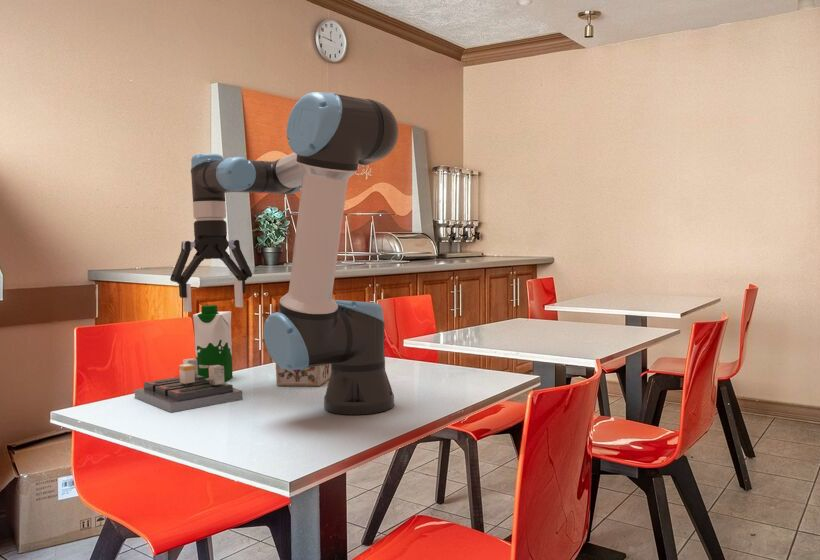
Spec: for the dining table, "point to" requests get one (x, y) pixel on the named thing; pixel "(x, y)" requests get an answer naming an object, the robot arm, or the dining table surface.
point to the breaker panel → (189, 390)
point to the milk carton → (213, 340)
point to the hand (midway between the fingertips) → (214, 309)
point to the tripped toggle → (186, 373)
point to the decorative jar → (303, 376)
